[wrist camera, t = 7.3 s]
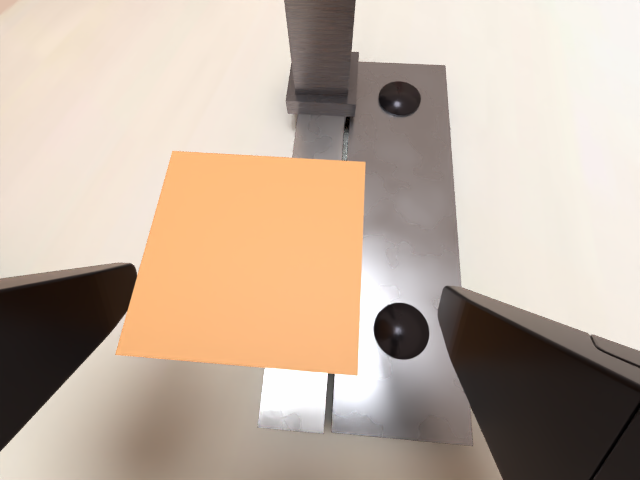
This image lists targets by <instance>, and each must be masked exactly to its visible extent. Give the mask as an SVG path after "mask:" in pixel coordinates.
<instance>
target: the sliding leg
mask: <svg viewBox="0 0 640 480" xmlns="http://www.w3.org/2000/svg"><path fill="white" fill-rule="evenodd" d="M365 163H366V162H358V161H341V160H323V159H305V158H288V157H270V156H252V155H234V154H217V153H199V152H181V151H172V155H171V158H170V162H169V165H168V169H167V172H166V176H165V179H164V183H163V187H162V190H161V194H160V197H159V201H158V204H157V208H156V211H155V215H154V219H153V222H152V226H151V229H150V233H149V236H148V240H147V243H146V247H145V251H144V254H143V258H142V261H141V265H140V268H139V272H138V275H137V279H136V283H135V286H134V290H133V293H132V297H131V300H130V304H129V307H128V311H127V315H126V318H125V322H124V325H123V329H122V332H121V336H120V339H119V343H118V347H117V350H116V354H115V355H123V356H135V357H146V358H158V359H169V360H181V361H192V362H204V363H215V364H227V365H238V366H250V367H261V368H273V369H284V370H296V371H307V372H319V373H330V374H342V375H353V376H358V356H359V329H360V301H361V273H362V246H363V218H364V190H365Z"/></svg>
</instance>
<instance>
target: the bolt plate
mask: <svg viewBox="0 0 640 480" xmlns="http://www.w3.org/2000/svg"><path fill="white" fill-rule="evenodd" d="M347 161H358V162H366V163H365V190H364V218H363V246H362V273H361V301H360V329H359V356H358V376H353V375H342V374H334V389H333V406H332V423H331V432H332V433H342V434H352V435H363V436H373V437H384V438H394V439H405V440H415V441H426V442H436V443H447V444H457V445H468V446H473V441H472V427H471V413H470V404H469V402H468V399H467V397H466V395H465V392H464V390H463V388H462V386H461V383H460V381H459V379H458V377H457V374H456V372H455V370H454V368H453V365H452V363H451V360H450V358H449V355H448V352H447V348H446V345H445V341H444V338H443V335H442V331H441V328H440V324H439V321H438V307H439V302H440V298H441V294H442V290H443V288H444V287H445V286H459V287H461V275H460V261H459V248H458V234H457V220H456V206H455V192H454V179H453V165H452V151H451V137H450V123H449V110H448V96H447V82H446V68H445V65H424V64H401V63H377V62H358V78H357V97H356V110H355V117H350V119H349V136H348V153H347Z"/></svg>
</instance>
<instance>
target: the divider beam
mask: <svg viewBox="0 0 640 480" xmlns="http://www.w3.org/2000/svg"><path fill="white" fill-rule="evenodd" d="M355 1H356V0H284V2H285V11H286V19H287V28H288V36H289V44H290V53H291V61H292V63H291V69H290V76H289V83H288V90H287V97H286V105H287V111H288V114H298V116H297V124H296V132H295V140H294V147H293V155H292V158H305V159H323V160H341V161H342V148H343V133H344V127H345V125H346V116H347V117H355V110H356V97H357V78H358V59H359V52H351V50H352V38H353V25H354V13H355ZM327 375H328V373H319V372H307V371H296V370H284V369H273V368H265V373H264V381H263V389H262V396H261V404H260V412H259V420H258V427H259V428H269V429H280V430H290V431H301V432H311V433H321V434H324V420H325V405H326V390H327Z"/></svg>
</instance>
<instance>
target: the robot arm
mask: <svg viewBox="0 0 640 480" xmlns="http://www.w3.org/2000/svg"><path fill="white" fill-rule="evenodd" d="M136 279H137V272H136V268H135V266H134V265H133V264H131V263H112V264H105V265H97V266H90V267H82V268H75V269H68V270H60V271H53V272H46V273H38V274H31V275H23V276H16V277H9V278H1V279H0V451H1V450H2V449H3V448H4V447H5V446H6V445H7V444H8V443H9V442H10V441H11V440H12V438H13V437H14V436H15V435H16V434H17V433H18V432H19V431H20V430H21V429H22V428H23V427H24V426H25V424H26V423H27V422H28V421H29V420H30V419H31V418H32V417H33V416H34V415H35V414H36V413H37V412H38V411H39V409H40V408H41V407H42V406H43V405H44V404H45V403H46V402H47V401H48V400H49V399H50V398H51V397H52V395H53V394H54V393H55V392H56V391H57V390H58V389H59V388H60V387H61V386H62V385H63V384H64V383H65V381H66V380H67V379H68V378H69V377H70V376H71V375H72V374H73V373H74V372H75V371H76V370H77V369H78V367H79V366H80V365H81V364H82V363H83V362H84V361H85V360H86V359H87V358H88V357H89V356H90V355H91V354H92V352H93V351H94V350H95V349H96V348H97V347H98V346H99V345H100V344H101V343H102V342H103V341H104V340H105V338H106V337H107V336H108V335H109V334H110V333H111V332H112V330H113V329H114V328H115V327H116V325H117V324H118V323H119V321H120V320H121V319H122V317H123V316H124V315H125V313H126V312H127V311H128V307H129V304H130V300H131V297H132V293H133V290H134V286H135V283H136ZM438 321H439V324H440V328H441V331H442V335H443V338H444V341H445V345H446V348H447V352H448V355H449V358H450V360H451V363H452V365H453V368H454V370H455V372H456V374H457V377H458V379H459V381H460V383H461V386H462V388H463V390H464V392H465V395H466V397H467V399H468V402H469V404H470V406H471V408H472V411H473V413H474V415H475V417H476V420H477V422H478V424H479V426H480V429H481V431H482V433H483V435H484V438H485V440H486V442H487V444H488V447H489V449H490V451H491V453H492V456H493V458H494V460H495V462H496V465H497V467H498V469H499V471H500V474H501V476H502V478H503V480H640V351H638V350H635V349H632V348H630V347H627V346H624V345H621V344H618V343H615V342H613V341H610V340H607V339H604V338H601V337H599V336H596V335H589V334H588V333H586V332H583V331H580V330H578V329H575V328H572V327H569V326H567V325H564V324H561V323H558V322H556V321H553V320H550V319H547V318H545V317H542V316H539V315H536V314H534V313H531V312H528V311H525V310H523V309H520V308H517V307H514V306H512V305H509V304H506V303H503V302H501V301H498V300H495V299H492V298H490V297H487V296H484V295H481V294H479V293H476V292H473V291H470V290H468V289H465V288H462V287H459V286H445V287H444V288H443V290H442V294H441V298H440V302H439V307H438Z"/></svg>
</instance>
